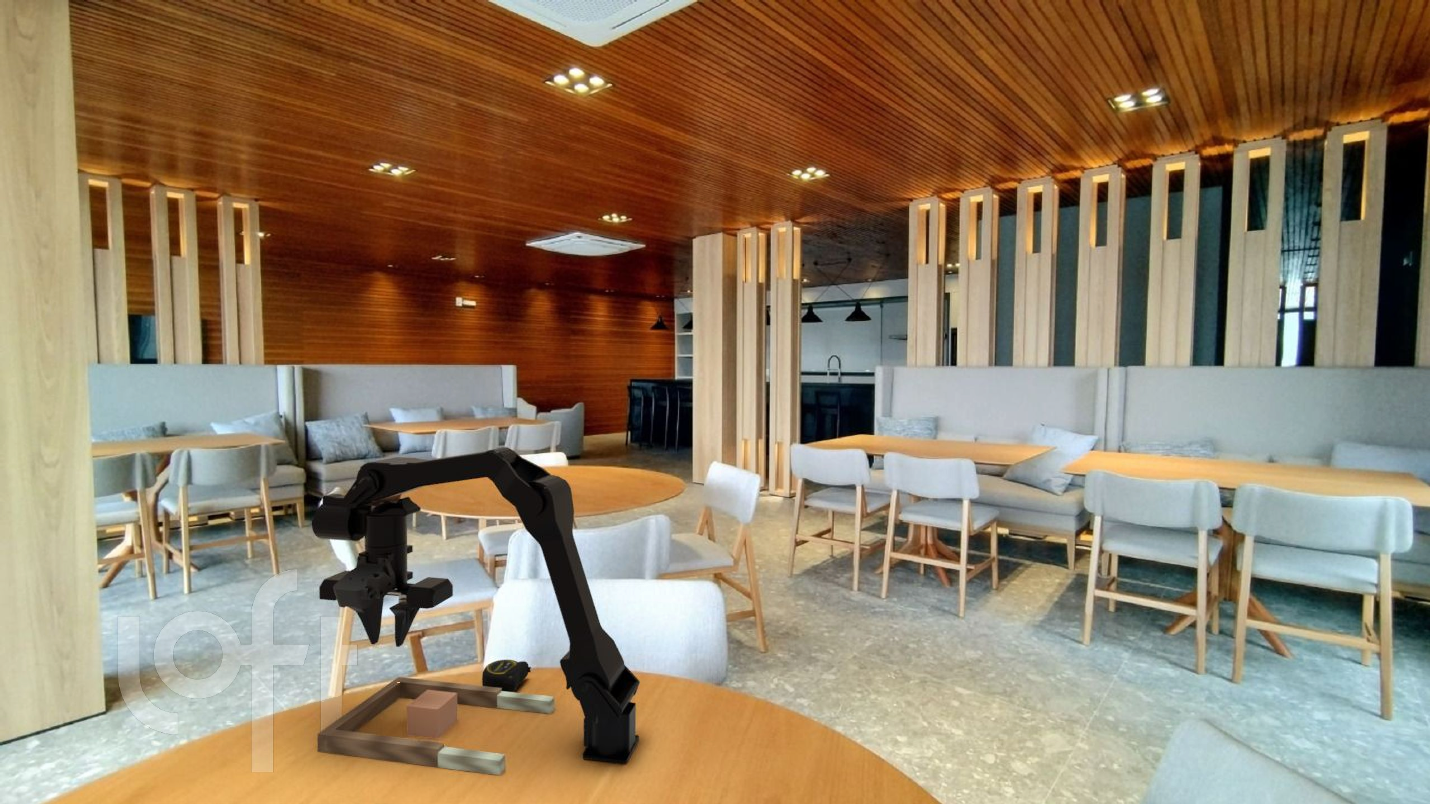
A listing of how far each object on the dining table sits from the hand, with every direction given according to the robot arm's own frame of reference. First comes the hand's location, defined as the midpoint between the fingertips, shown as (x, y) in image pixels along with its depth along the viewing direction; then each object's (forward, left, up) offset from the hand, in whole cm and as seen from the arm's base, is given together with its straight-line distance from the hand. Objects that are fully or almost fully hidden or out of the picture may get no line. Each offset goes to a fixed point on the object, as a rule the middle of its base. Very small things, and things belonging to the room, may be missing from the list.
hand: (387, 644), depth 100 cm
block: (-8, 0, -12) cm, 14 cm away
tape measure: (-12, -14, -12) cm, 22 cm away
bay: (-9, 0, -12) cm, 15 cm away
